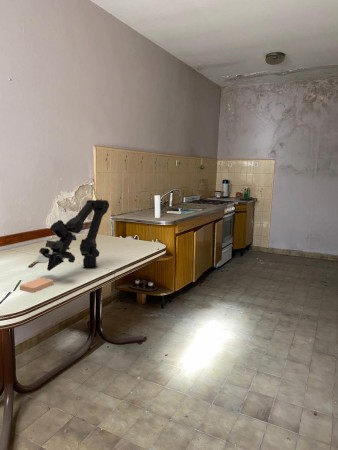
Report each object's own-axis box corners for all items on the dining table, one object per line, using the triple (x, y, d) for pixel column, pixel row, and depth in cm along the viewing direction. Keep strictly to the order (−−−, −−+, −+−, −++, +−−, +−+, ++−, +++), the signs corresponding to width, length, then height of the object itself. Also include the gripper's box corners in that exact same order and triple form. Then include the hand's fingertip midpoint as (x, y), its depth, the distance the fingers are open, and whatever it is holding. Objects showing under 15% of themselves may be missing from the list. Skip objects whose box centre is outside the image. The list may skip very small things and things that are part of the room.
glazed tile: (40, 277, 155) (19, 285, 145) (53, 280, 152) (32, 288, 141) (40, 282, 156) (20, 290, 145) (53, 285, 152) (33, 293, 142)
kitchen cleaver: (42, 267, 178) (23, 265, 177) (42, 268, 178) (23, 267, 177) (55, 256, 202) (39, 255, 201) (55, 257, 202) (39, 256, 201)
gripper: (40, 231, 160) (23, 258, 152) (70, 235, 152) (53, 264, 144) (53, 244, 168) (37, 270, 160) (82, 248, 160) (66, 276, 152)
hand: (48, 270), depth 154 cm, fingers closed
